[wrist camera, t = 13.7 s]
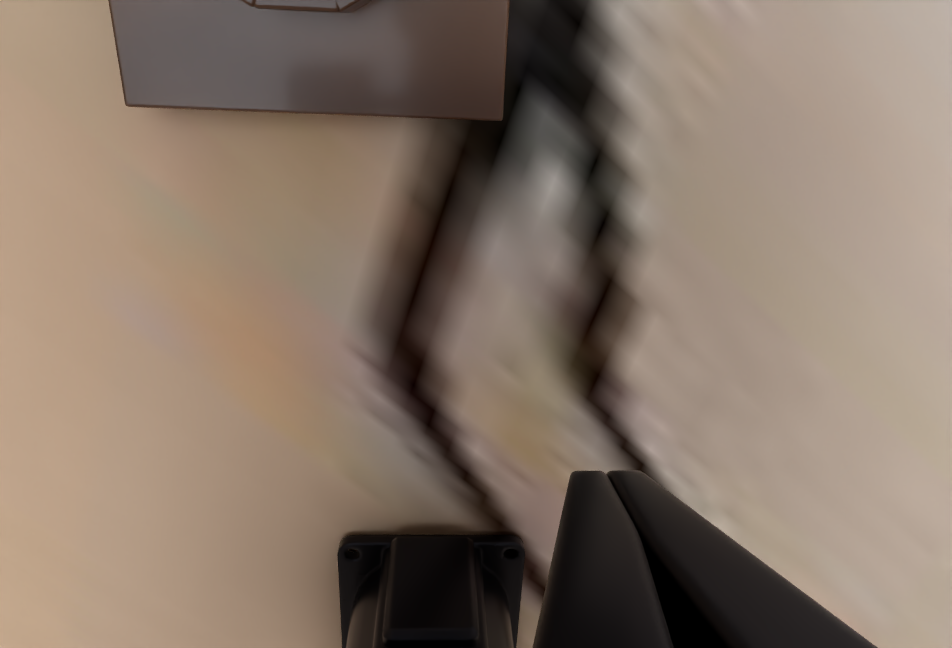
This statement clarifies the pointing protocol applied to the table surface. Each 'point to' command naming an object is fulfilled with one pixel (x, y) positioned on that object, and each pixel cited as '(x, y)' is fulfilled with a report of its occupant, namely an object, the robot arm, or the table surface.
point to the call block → (315, 56)
